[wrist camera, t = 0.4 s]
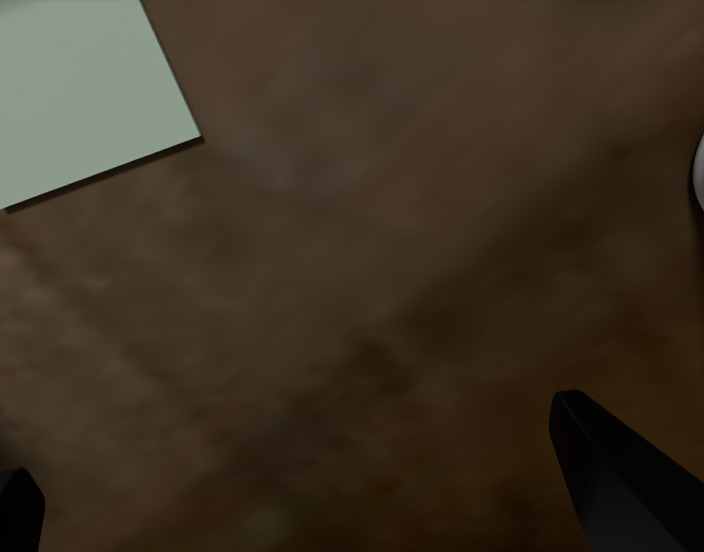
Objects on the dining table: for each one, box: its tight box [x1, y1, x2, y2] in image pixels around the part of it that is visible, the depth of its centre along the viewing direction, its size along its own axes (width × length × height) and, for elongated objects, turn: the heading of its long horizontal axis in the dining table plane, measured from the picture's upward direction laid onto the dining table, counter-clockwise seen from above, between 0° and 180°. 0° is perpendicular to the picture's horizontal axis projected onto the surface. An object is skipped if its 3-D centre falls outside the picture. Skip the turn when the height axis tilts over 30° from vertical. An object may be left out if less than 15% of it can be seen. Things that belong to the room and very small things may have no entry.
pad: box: [0, 0, 201, 209], centre depth 19 cm, size 8×8×1 cm
